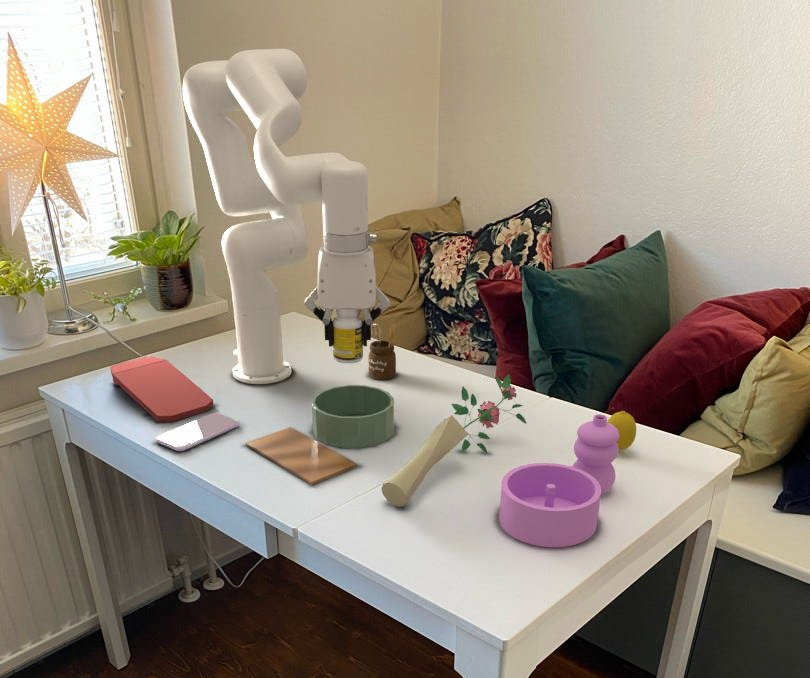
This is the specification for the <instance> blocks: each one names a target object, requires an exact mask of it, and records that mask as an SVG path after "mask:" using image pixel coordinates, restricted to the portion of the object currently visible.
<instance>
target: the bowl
mask: <svg viewBox="0 0 810 678" xmlns="http://www.w3.org/2000/svg"><path fill="white" fill-rule="evenodd" d="M348 415H355V416H348ZM357 415H360V416H357ZM311 418H312V433H313V434H314V436H315V438H316V439H317V440H318V441H320V442H322V443H324V444H326V445H328V446H333V447H336V448H337V447H338V448H341V449H343V448H344V449H346V448H347V449H360V448H368V447H372V446H376V445H379V444H382V443H384V442H386V441H387V440H389V439H390V438H391V437H392V436H393V435H394V433H395V432H394V431H395V398H394V397H393V396H392V394H391V393H390V392H389V391H386V390H384V389H382V388H380V387H376V386H372V385H365V384H347V385H345V384H344V385H339V386H338V385H337V386H332V387H329V388H327V389H324V390H321V391H320V392H318V393H317V394H315V395H314V396H313V398H312V400H311Z"/></svg>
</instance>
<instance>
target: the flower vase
mask: <svg viewBox="0 0 810 678" xmlns="http://www.w3.org/2000/svg"><path fill="white" fill-rule="evenodd" d="M494 380H495V381H496V384H497V385H498V388H499V390H500V393H501V395H502V396H501V397H502V398H501V400H500V401H499V402H498V403H497V404H496V403H495V402H494V401H493V402H492V401H490V400H487V401H483V402H482V404H479V408H477V409H476V410H477V412H478V413H477V418H475V419H473V420H472V419H471V417H469V423H468V424H465V425H464V426H462V425H461V424H460V422H459V421H458V420H457V418H455V417H454V416H453V415H457V416H463V415H465V418H464V421H466V419H467V416H471V413H472V411H469V408H468V405H467V401H468V400H469V399H470V405H471V406H472V407H471V409H473V407H475V406H477V405H478V401H477V397H476V396H475V395H474V393H473V392H472V393H471V395H469V393H468V390H467V389H466V387H465V386H462V387H461V391H460V393H461V400H462V401H464V403H465V405H464V406H463V405H461V404H459V403H451V406H452V409H454V411H455V412H453V415H452V414H451V415H449V416H448V417H447V418H444V419H443V420H442V421H441V422H439V423H438V424H437V425H436V426H435V428H434V429H433V431H432V432H431V433H430V435H429V437H428V438H427V439H426V441H425V442H424V444H423V445H422V447H421V448H420V450H419V451H418V452H417V453H416V454H415V455H414V456H413V457H412V458H411V459H410V460H408V462H407V463H406V464H405V465H404V466H403V467H401V468H400V469H399V470H398V471H396V472H395V473H394V474H393V475H392V476H391V477H390V478H388V479H387V480H386V481H385V482H384V483H383V484H382V485H381V493H382V495H383V497H384V498H385V500H386V501H387V502H389V503H390V504H391V505H392V506H396V507H399V508H400V507H404V506H406V505H407V503H408V502H409V501H410V499H411V498H412V496H413V495H414V493H415V492H416V490H417V489H418V488H419V487H420V485H421V484H422V482H423V481H424V479H425V478H426V477H427V475H428V474H429V473H430V471H431V470H432V469H433V467H435V466H436V464H438V463H439V462H440V461H441V460H442V459H443V458H445V457H446V455H448V454H449V452H451V451H452V450H453V449H454V448H455V447H457V445H458V444H460V443H461V442H462V441H463V442H462V444H461V452H462V453H463V452H465V451H467V450H468V449H469V448H470V447H471V442H470V441H469V440H470V439H472V441H473V442H475V440H474V439H473V438H472V434H469V433H468V431H467V430H466V428H467V427H469V426H470V425H472V424H473V423H475V422H477V421H478V422H479V423H480V424H481V425H482V427H485V426H486V427H485V428H486V429H490V428H494V425H493V424H495V425H498V424H499V422H500V414H501V411H503V412H506V413H508V414H511V415H513V416H515V417H516V419H518V420H519V421H521V422H522V423H523V424H525V425H527V421H526V419H525V417H524V416H523V414H521V413H519V412H518V413H516V414H514V413H512V412H509V411H510V409H506V410H504V409H502V408H500V407H499V405H501V404H502V403H503V401H505V400H506V399H507V401H510V400H513V398H514V399H515V398H517V395H518V394H517V390H516V388H515V386H513V387H512V385H511V381H512V380H511V376H510V374H507V375H506V376H505V377H504V378H503V380H501V379H500V378H499V377H496V376H494ZM521 407H524V405H523V404H521V403H515V404H513V405H512V407H511V409H516V408H521ZM500 410H501V411H500ZM471 420H472V421H471ZM467 436H469V438H468V439H466V437H467ZM474 436H475V437H478V438H479V439H483V440H490V439H491V437H490V436H489V435H488V434H487V433H485V432H483V431H479V432H478V434H477V435H475V434H474ZM476 446H477V447H478V448H479V449H480V450H481V451H483V452H484V453H485V454H488V449H487V447H486V446H485V444H484V443H482V442H478V443H476Z"/></svg>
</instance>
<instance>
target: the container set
mask: <svg viewBox="0 0 810 678" xmlns="http://www.w3.org/2000/svg"><path fill="white" fill-rule="evenodd" d="M592 418H593V419H592V420H589V421H587V422H584V423H581V424H580V425H579V427H578V429H577V431H576V435H577V438H576V439H575V441H574V444H573V452H574V455H575V457H576V458H577V459H576V461H575V462H574V463H572V465H571V466H570V465H566V464H563V463H556V462H536V463H535V462H534V463H527V464H523V465H519V466H516V467H515V468H512V469H511V470H509V471H508V472H506V473H505V474H504V475H503V477H502V479H501V485H500V486H501V487H500V500H499V515H498V522H499V525H500V527H501V528H502V530H503V531H504V532H505V533H507V535H508V536H510V537H512V538H513V539H515V540H517V541H520V542H522V543H525V544H529V545H532V546H537V547H544V548H566V547H573V546H575V545H579V544H581V543H584V542H586V541H587V540H589V539H590V538H591V537H593V535H594V534H595V532H596V531H597V530H596V529H597V524H598V518H599V511H600V504H601V497H602V495H604V494H605V493H606V492H607V491H609V490H611V488H612V487H613V485H614V484H615V481H616V470H615V467H614V465H613V464H612V462H615V460H616V459H617V457H618V455H619V453H620V451H619V447H618V444H617V440H618V439H619V432H618V429H617V428H616V427H614V426H613V425H612V424H610V423H608V422H607V421H608V416H607V415H604V414H593V417H592Z"/></svg>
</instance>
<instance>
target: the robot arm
mask: <svg viewBox="0 0 810 678" xmlns="http://www.w3.org/2000/svg"><path fill="white" fill-rule="evenodd" d="M307 84H308V76H307V70H306V67H305V65H304V62H303V60H302V59H301V58H300V56H299V55H298V54H297V53H295V52H294V51H292V50H291V49H287V48H260V49H257V48H256V49H246V50H241V51H239V52H237V53H234V54H233V55H232V56H231V57H230V58H229V59H228V60H227V59H225V60H209V61H204V62H200V63H197V64H194V65H192V66H191V67H189V68H188V69H187V70H186V71H185V73H184V76H183V80H182V96H183V97H182V98H183V102H184V103H183V104H184V106H185V110H186V113H187V115H188V118H189V120H190V123H191V124H192V127H193V129H194V130H195V132H196V134H197V136H198V139H199V141H200V143H201V145H202V148H203V151H204V155H205V159H206V163H207V168H208V171H209V174H210V179H211V182H212V186H213V190H214V192H215V193H214V194H215V197H216V201H217V203H218V205H219V208H220V210H221V211H222V212H223V214H225V215H226V216H229V217H245V216H251V215H259V214H267V213H269V214H270V216H271V218H268V219H267V218H266V219H259V220H252V221H246V222H241V223H237V224H234V225H232V226H230V227H229V228H227V230H226V231H225V232H224V233H223V235H222V236H221V237H222V239H221V249H222V254H223V258H224V261H225V262H224V263H225V265H226V270H227V273H228V278H229V284H230V290H231V300H232V307H233V317H234V325H235V336H236V345H237V349H234V350H233V352H232V354H233V355H234V356H235V357H237V364H235V365H234V366H233V368H232V376H233V378H234V379H235V380H237V381H238V382H241V383H244V384H251V385H268V384H274V383H278V382H281V381H284V380H285V379H287V378H289V377H290V376H291V374H292V366H291V364H290V363H289V362H287V361H285V360H284V349H283V348H284V347H283V333H282V320H281V305H280V296H279V291H278V288H277V286H276V284H275V283H274V282H273V281H272V280H271V279H270V277H269V276H268V275H267V271H271V270H274V269H280V268H284V267H291V266H294V265H298V264H300V263H302V262H303V261H304V260H305V259H306V257H307V256H308V250H309V242H308V236H307V230H306V226H305V222H304V218H303V214H302V209H301V205H307V204H313V203H320V202H321V205H322V206H321V207H322V210H321V211H322V234H323V235H322V236H323V245H322V246H321V247H319V251H318V259H317V285H316V287H315V288H314V289H313V290H312V291H311V292H310V294H308V296H307V297H306V298H305V299H304V301H303V305H304V307H305V308H307V310H309V311H310V312H312V313H313V315H315V317H317V318H318V319H319V320H320V321H321V323H322V324H323V325H324V341H328V347H331V348H333V320H332V315H333V312H334V310H336V309H359V310H360V311H361V313H362V316H363V320H362V321H363V347H368V341H371V340H372V333H371V331H372V326H371V325H372V324H373V322H374V321H375V320H376V319H377V318H378V317H379V316H381V314H382V313H383V312H385V311H386V310H387V309H388V308H389V307H390V306H391V301H390V299H389V298H388V297H387V296H386V294H384V292H383V291H382V290H381V289H380V288H379V287H378V286H377V279H376V278H377V275H376V261H375V256H374V249H373V247H372V246H370V244H373V243H377V242H378V241H377V239H378V238H377V235H378V234H377V233H372V232H370V231H369V186H368V185H369V182H368V181H369V178H368V176H369V175H368V169H367V167H366V166H365V165H364V164H363V163H361V162H359V161H355V160H349V159H348V158H347V157H346V156H345V155H343V154H341V153H339V152H336V151H335V152H334V151H330V152H329V151H328V152H320V153H319V152H318V153H308V154H298V155H291V156H286V155H284V154H283V153H282V151H281V150H280V148H279V147H281V146H282V145H283V144H285V143H287V142H288V141H289V140H290V139H292V138H293V137H294V136H295V135H296V133H298V131H299V129H300V127H301V125H302V123H303V122H302V121H303V110H302V106H301V104H300V103H299V102H298V100H300V99H302V97H303V96H304V94H305V92H306V90H307V86H308V85H307ZM236 111H244V113H245V114H246V115H247V117H248V118H249V120H250V121H251V123H252V124H253V126H254V127H255V129H256V132H255V136H254V140H253V155H254V160H253V159H252V156H251V153H250V149H249V145H248V141H247V138H246V136H245V134H244V132H243V131H242V129H241V128H240V127H239V126H238V125H237V124H236V123H235V121H233V120H232V119H231V118H229V116H228V115H226V114H225V112H236ZM377 300H378V302H379V303H378V304H377V305H376V303H377ZM316 301H318V305H317V304H316Z"/></svg>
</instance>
